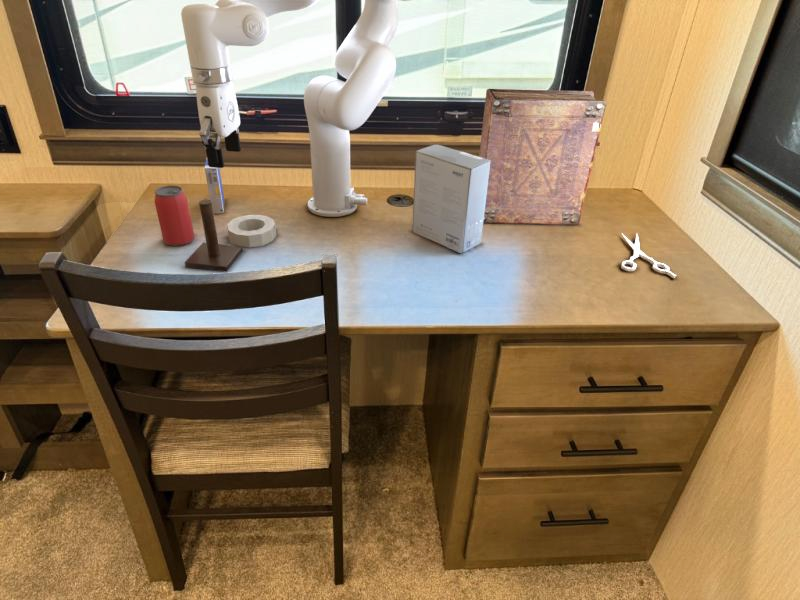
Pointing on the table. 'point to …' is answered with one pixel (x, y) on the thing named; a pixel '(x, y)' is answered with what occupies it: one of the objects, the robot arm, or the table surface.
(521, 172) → the book
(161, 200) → the beer can
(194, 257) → the spindle
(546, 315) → the table surface
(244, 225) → the tape roll
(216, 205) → the walkman
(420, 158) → the hard drive box
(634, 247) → the scissors
